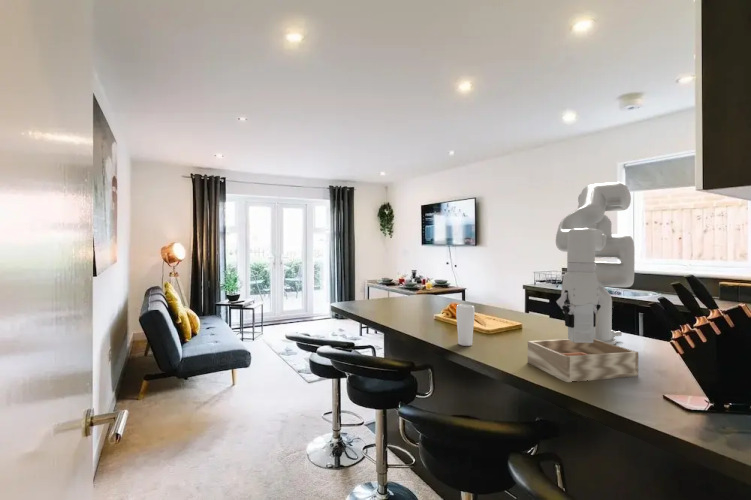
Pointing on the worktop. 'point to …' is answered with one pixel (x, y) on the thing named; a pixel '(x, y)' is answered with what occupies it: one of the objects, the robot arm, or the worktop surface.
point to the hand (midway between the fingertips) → (580, 325)
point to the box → (582, 360)
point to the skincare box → (582, 325)
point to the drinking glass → (465, 324)
